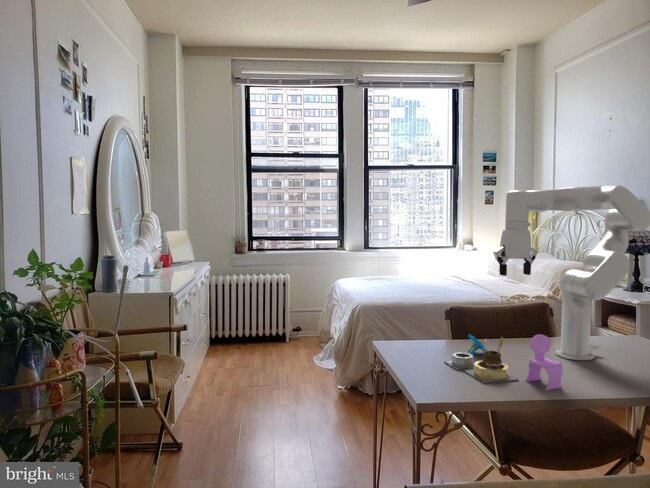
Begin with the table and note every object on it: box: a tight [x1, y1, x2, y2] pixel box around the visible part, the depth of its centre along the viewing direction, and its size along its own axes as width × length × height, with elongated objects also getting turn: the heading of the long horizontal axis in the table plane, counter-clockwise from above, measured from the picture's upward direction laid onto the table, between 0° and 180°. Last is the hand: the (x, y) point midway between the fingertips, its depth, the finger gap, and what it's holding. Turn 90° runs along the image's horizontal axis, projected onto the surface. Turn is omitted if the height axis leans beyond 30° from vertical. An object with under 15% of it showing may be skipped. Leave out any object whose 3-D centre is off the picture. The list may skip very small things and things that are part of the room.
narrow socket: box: [444, 352, 475, 372], centre depth 176 cm, size 9×9×4 cm
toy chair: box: [524, 334, 564, 391], centre depth 158 cm, size 8×9×15 cm
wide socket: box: [463, 360, 520, 385], centre depth 165 cm, size 12×12×4 cm
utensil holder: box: [481, 336, 504, 369], centre depth 165 cm, size 6×6×12 cm
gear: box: [467, 334, 489, 355], centre depth 189 cm, size 11×6×10 cm
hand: (515, 274), depth 182 cm, fingers open, 9 cm apart
